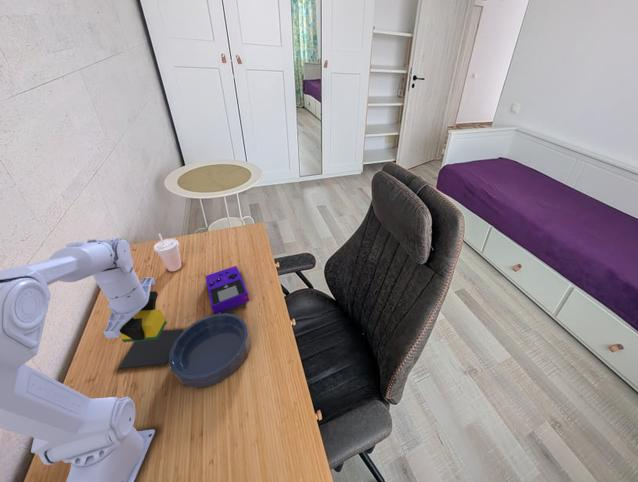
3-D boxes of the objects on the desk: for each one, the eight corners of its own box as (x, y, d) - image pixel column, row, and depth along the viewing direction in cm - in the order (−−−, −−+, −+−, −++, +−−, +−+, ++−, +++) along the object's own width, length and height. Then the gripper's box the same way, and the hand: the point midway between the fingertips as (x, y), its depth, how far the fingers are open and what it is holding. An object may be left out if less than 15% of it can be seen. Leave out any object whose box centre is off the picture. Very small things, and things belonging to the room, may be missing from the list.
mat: (166, 364, 66) (166, 363, 66) (119, 369, 65) (118, 368, 65) (183, 330, 74) (182, 329, 74) (140, 334, 73) (139, 332, 72)
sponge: (157, 339, 65) (150, 325, 62) (123, 342, 64) (114, 328, 61) (166, 322, 69) (160, 309, 66) (134, 325, 67) (126, 311, 65)
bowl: (241, 384, 64) (237, 373, 61) (161, 394, 61) (154, 383, 59) (256, 321, 78) (253, 310, 75) (191, 327, 75) (186, 316, 73)
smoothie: (164, 263, 94) (150, 229, 87) (187, 258, 97) (175, 225, 90) (161, 276, 89) (146, 241, 82) (185, 271, 92) (172, 237, 85)
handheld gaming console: (236, 264, 91) (247, 291, 80) (239, 277, 93) (250, 305, 82) (204, 275, 86) (210, 305, 75) (208, 288, 89) (215, 319, 77)
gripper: (122, 264, 64) (143, 304, 71) (74, 319, 52) (104, 361, 59) (156, 262, 65) (173, 302, 72) (117, 316, 53) (142, 357, 60)
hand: (145, 328), depth 66 cm, fingers closed on sponge, 4 cm apart
